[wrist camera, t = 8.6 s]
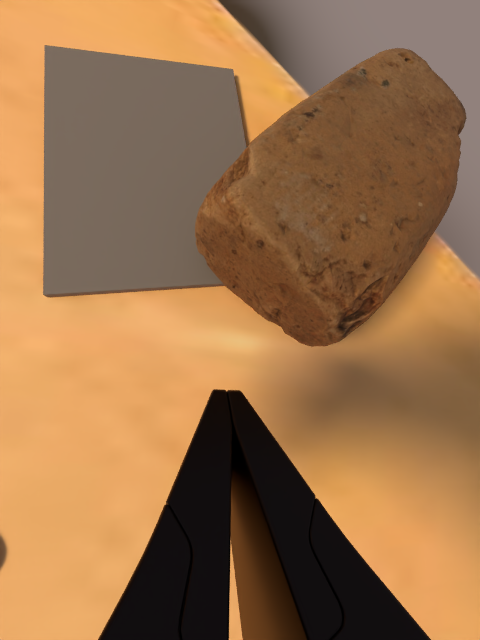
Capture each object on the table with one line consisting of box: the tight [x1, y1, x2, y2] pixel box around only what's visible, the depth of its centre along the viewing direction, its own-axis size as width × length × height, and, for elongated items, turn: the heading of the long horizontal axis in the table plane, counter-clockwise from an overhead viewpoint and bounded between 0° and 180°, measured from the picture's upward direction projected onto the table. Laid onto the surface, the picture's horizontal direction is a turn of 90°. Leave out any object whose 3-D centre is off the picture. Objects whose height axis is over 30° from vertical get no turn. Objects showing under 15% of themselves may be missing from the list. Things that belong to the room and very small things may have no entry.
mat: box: [43, 45, 246, 297], centre depth 19 cm, size 19×14×1 cm
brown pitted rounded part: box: [195, 48, 466, 346], centre depth 17 cm, size 11×8×20 cm
